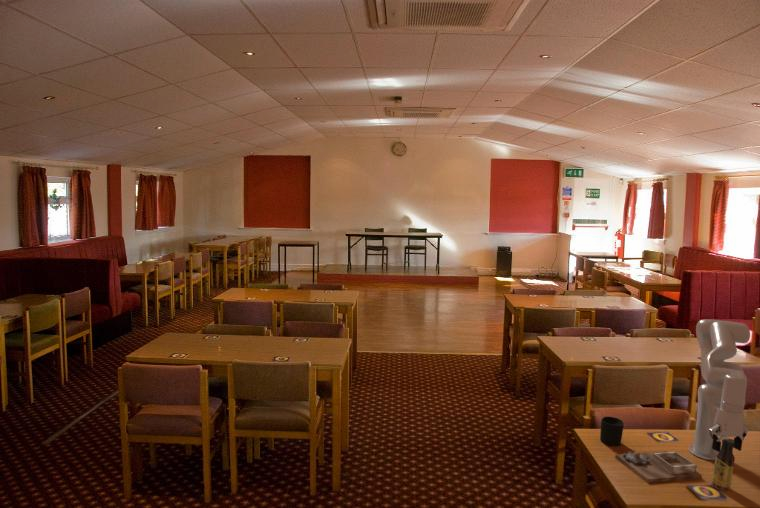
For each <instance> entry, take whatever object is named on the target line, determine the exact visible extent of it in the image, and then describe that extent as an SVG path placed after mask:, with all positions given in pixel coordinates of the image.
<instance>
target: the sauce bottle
mask: <svg viewBox="0 0 760 508" xmlns="http://www.w3.org/2000/svg"><path fill="white" fill-rule="evenodd" d="M734 443H735V441H734V439H733V438H731V437H723V438H722V439H721V446H722V447H721V449H720V452H718V454H717V456H716V459H715V461H714V465H713V472H712V477H711V485H712V487H714V488H716V489H718V490H719V491H729V490H730V489H731V484H732V479H733V473H734V469H735V468H734V467H735V461H736V460H735V459H736V458H735V457H736V456H734V453H733V452H734V451H733V450H734V447H733V445H734Z"/></svg>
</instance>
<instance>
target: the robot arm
mask: <svg viewBox="0 0 760 508" xmlns="http://www.w3.org/2000/svg"><path fill="white" fill-rule="evenodd" d="M750 330H751V329H750V328H749V327H748V325H747V324H746V323H743V322H737V321H729V320H720V319H711V318H708V319H707V318H706V319H703V318H702V319H700V320H699V321H698V322H697V323H696V326H695V333H696V334H695V335H696V339H697V341H698V345H699V349H700V365H701V366H700V367H701V368H700V369H701V370H700V371H701V377H702V378H703V380H704V381H705V383H702V384H701V385H699V387H698V389H697V415H696V424H695V431H694V439H693V444H691V445H689V447H688V452H690V453H691V455H693V456H695V457H698V458H700V459H703V460H707V461H714V462H715V459H716V456H717V454H718V452H720V449H721V447H722V439H723V438H724V437H726V438H731V437H732V438H733V440H734V441H735V443H734V445H733V449H736V451H739V452H741V451H742V447H743V441H744V440H745V437H746V436H747V434H748V432H749V430H750V428H749V427H747V426H745V412H744V410H745V409H744V408H745V406H746V393H747V385H748V378H747V375H746V374H745V372H744V371H745V370H744V369H743V367H742V365H740V364H739V363H735V362H730V361H726V360H730V359H731V358H734V357H735V356H736V355H737V354H738V348H737V344H736V343H738V344H747V343H748V342H749V341H750V338H751V331H750Z"/></svg>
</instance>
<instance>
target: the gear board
mask: <svg viewBox="0 0 760 508" xmlns="http://www.w3.org/2000/svg"><path fill="white" fill-rule="evenodd" d="M614 457H615V459H616V460H618V461H619V462H620V463H621V464H622V465H624V466H625V467H626V466H627V467H626V468H628V469H629V470H630V471H631V470H632V471H631V472H633V473H634V474H636V475H637V476H638V477H639V478H641V479H642V480H643V481H644V482H645V483H647V484H649V483H651V484H652V483H663V482H672V481H673V482H675V481H685V480H699V479H702V477H703V474H702V473H700V472H698V471H697V464H696V463H694V462H693V461H691V460H690V459H689V458H687V457H685V456H683V455H682V454H681V453H679V452H677V451H666V450H662V451H661V450H660V451H649V452H648V451H647V452H638V451H634V452H632V451H627V452H624V453H621V454H619V453H618V454H615V456H614Z"/></svg>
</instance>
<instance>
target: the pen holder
mask: <svg viewBox="0 0 760 508" xmlns="http://www.w3.org/2000/svg"><path fill="white" fill-rule="evenodd" d="M624 426H625V424H624V422H623V420H622V419H620V418H617V417H613V416H604V417H602V418H601V422H600V438H599V440H600V441H601V443H603V444H605V445H607V446H609V447H618V446H620V445H621V443H622V439H623V433H624V432H623V431H624Z"/></svg>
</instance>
